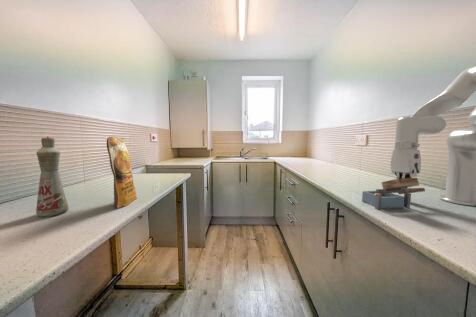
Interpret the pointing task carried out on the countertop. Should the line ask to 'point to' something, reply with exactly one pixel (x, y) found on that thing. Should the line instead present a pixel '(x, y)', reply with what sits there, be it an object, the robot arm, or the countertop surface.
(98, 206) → the countertop surface
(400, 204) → the blue-grey open box
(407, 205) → the stand
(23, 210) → the countertop surface
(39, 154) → the bottle
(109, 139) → the pancake mix bag
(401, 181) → the lever
